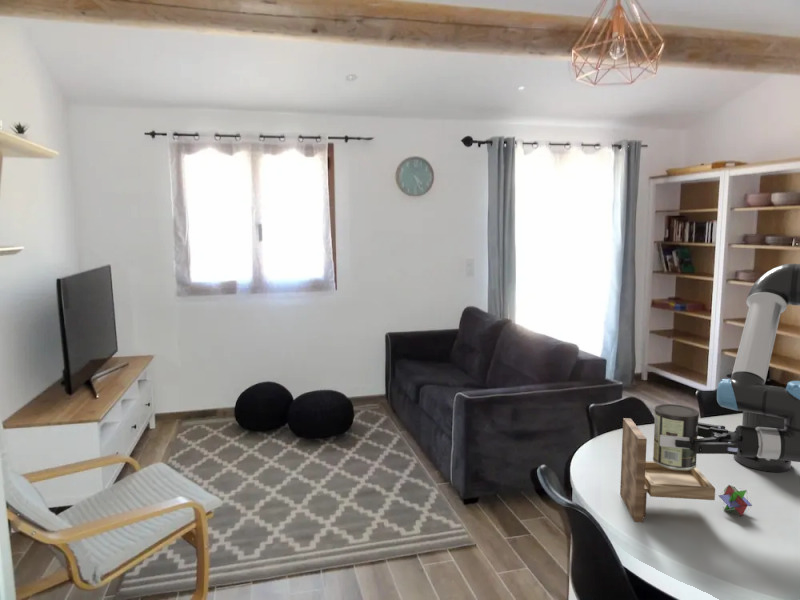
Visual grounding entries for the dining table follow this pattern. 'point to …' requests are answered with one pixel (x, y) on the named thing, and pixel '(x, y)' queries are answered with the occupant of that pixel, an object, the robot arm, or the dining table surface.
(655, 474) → the bracket
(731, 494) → the geometric puzzle
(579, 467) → the dining table surface
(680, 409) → the coffee can
